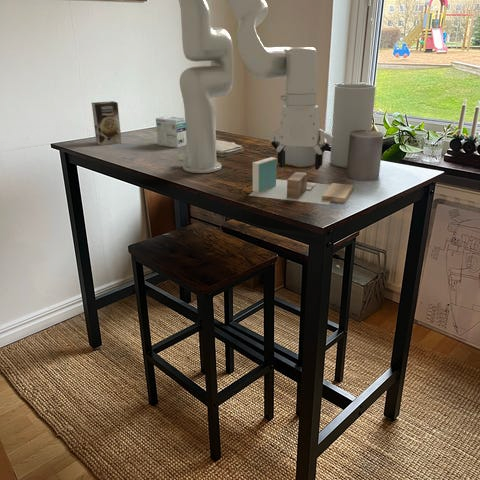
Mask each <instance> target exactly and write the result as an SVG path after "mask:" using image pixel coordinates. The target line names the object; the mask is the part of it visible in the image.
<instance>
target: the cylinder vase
mask: <svg viewBox="0 0 480 480" xmlns="http://www.w3.org/2000/svg"><path fill="white" fill-rule="evenodd" d="M376 87H377V86H376V85H373V84H365V83H362V84H360V83H348V84H346V83H345V84H344V83H343V84H336V85H334V93H333V94H334V96H333V97H334V99H333V111H332V112H333V113H332V126H331V127H332V128H331V135H332V136H334V140H333V141H332V143H331V145H330V159H329V160H330V164H332V166H336V167H338V168H344V169H345V168H346V169H347V161H348V150H349V138H350V132H352V131H356V130H366V129H367V130H372V129H373V128H372V127H373V117H374V107H375V98H376V97H375V96H376V89H377V88H376Z"/></svg>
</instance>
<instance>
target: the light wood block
mask: <svg viewBox="0 0 480 480" xmlns="http://www.w3.org/2000/svg"><path fill="white" fill-rule="evenodd" d="M286 180H287V198H292V199H299V198H300V197H301V196H302V195H303V194H304V193H305V191H306V190H307V191H311V190H312V189H313V188H314V186H315V185H316V183H317V182H308V172H302V171H295V172H294V173H293V174H292V175H290V176H289V178H287V179H286Z"/></svg>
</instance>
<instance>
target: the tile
mask: <svg viewBox="0 0 480 480" xmlns="http://www.w3.org/2000/svg"><path fill="white" fill-rule="evenodd" d="M277 164H278V157H272V156H270V157H268V158H263V159H260V160H257V161H253V162H252V192H253V191H255V192H260V191H263V190H266V189H268V188H271V187H274V186H276V179H277Z"/></svg>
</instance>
